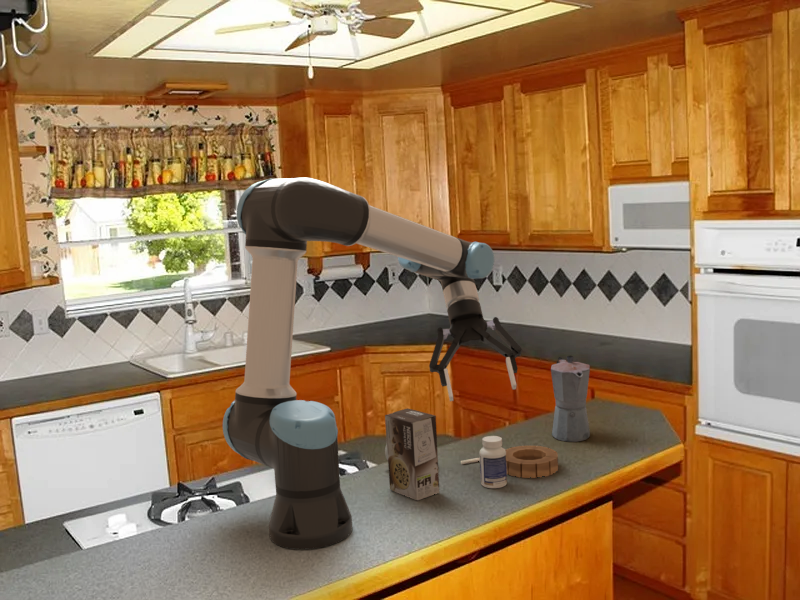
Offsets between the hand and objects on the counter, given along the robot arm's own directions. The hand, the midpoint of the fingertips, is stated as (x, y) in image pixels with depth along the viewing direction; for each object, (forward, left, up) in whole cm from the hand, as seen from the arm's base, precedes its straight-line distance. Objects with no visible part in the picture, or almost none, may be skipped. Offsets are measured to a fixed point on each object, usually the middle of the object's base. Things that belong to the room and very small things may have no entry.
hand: (483, 393), depth 176 cm
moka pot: (+28, +12, -17) cm, 35 cm away
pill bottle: (-2, -8, -17) cm, 19 cm away
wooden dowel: (+5, +6, -17) cm, 19 cm away
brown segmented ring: (+9, -3, -17) cm, 20 cm away
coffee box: (-18, -4, -17) cm, 25 cm away
